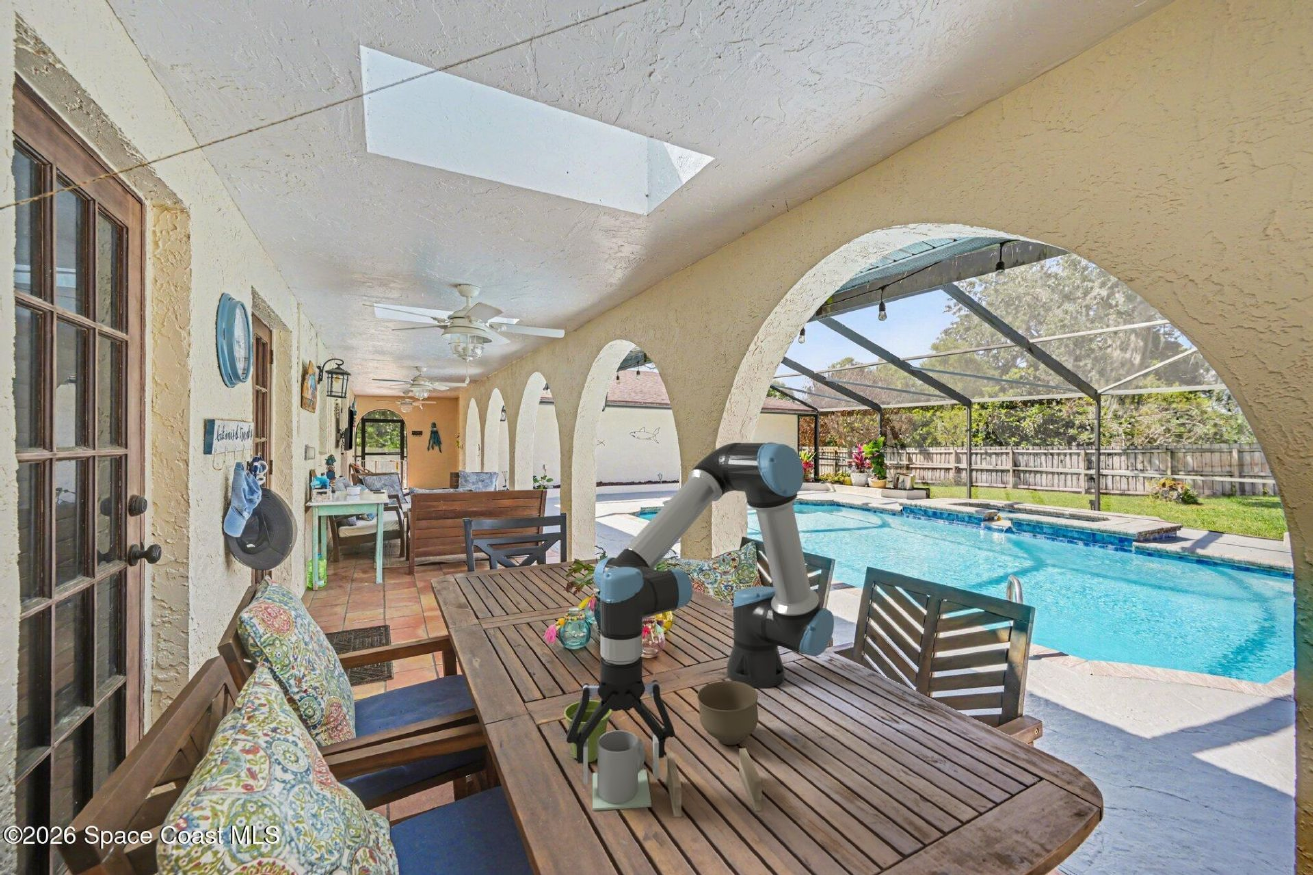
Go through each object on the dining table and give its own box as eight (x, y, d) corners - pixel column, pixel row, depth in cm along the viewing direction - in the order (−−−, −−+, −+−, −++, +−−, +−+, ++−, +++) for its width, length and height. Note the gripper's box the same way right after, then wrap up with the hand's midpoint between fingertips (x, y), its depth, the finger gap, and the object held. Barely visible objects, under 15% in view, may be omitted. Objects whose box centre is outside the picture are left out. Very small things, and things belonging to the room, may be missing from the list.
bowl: (686, 731, 119) (687, 685, 119) (737, 720, 124) (737, 675, 124) (715, 763, 107) (716, 712, 107) (770, 749, 112) (770, 700, 112)
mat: (645, 771, 104) (645, 769, 104) (651, 806, 95) (651, 804, 95) (592, 775, 103) (592, 772, 103) (592, 810, 93) (592, 808, 93)
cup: (588, 791, 98) (589, 740, 98) (630, 767, 105) (630, 720, 105) (615, 810, 93) (615, 757, 93) (657, 784, 100) (657, 735, 100)
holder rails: (745, 775, 104) (745, 748, 104) (761, 810, 94) (761, 781, 94) (666, 780, 102) (666, 753, 102) (674, 817, 92) (674, 787, 92)
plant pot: (565, 742, 114) (566, 700, 114) (611, 740, 115) (611, 698, 115) (561, 769, 105) (562, 723, 105) (611, 767, 106) (611, 721, 106)
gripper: (684, 646, 104) (683, 760, 104) (554, 651, 101) (554, 768, 101) (691, 662, 97) (690, 785, 97) (551, 667, 94) (550, 795, 94)
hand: (620, 777), depth 99 cm, fingers open, 12 cm apart
